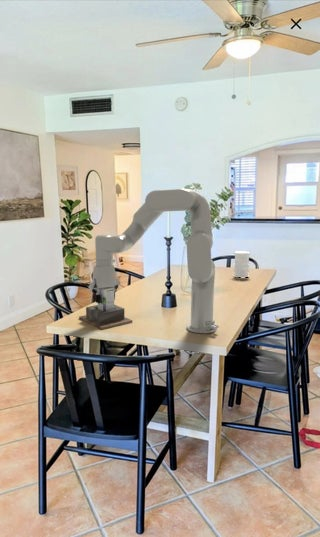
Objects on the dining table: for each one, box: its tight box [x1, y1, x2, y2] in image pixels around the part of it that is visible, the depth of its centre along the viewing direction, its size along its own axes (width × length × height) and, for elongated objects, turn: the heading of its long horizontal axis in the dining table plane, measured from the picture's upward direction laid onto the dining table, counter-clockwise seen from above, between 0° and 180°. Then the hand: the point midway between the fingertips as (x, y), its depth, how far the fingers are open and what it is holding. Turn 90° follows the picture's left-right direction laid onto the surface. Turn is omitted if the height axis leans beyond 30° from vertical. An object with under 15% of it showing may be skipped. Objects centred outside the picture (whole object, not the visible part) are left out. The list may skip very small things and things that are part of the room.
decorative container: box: [232, 250, 251, 278], centre depth 279 cm, size 12×12×18 cm
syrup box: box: [97, 287, 115, 311], centre depth 177 cm, size 6×6×14 cm
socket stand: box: [78, 304, 133, 330], centre depth 178 cm, size 20×16×6 cm
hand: (105, 301), depth 177 cm, fingers open, 7 cm apart
